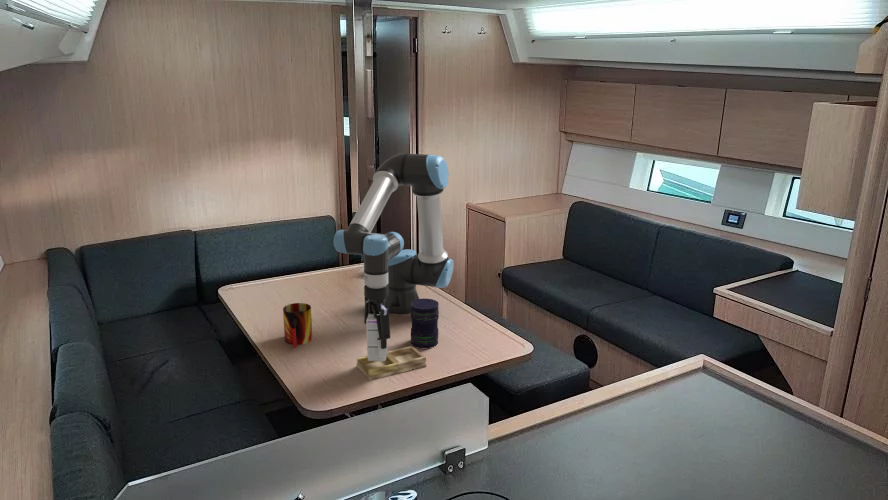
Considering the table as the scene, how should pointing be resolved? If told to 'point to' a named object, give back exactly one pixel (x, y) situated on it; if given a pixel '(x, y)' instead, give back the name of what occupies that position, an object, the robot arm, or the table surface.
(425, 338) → the storage jar
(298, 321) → the mug
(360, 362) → the socket board
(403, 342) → the table surface
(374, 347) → the syrup box
